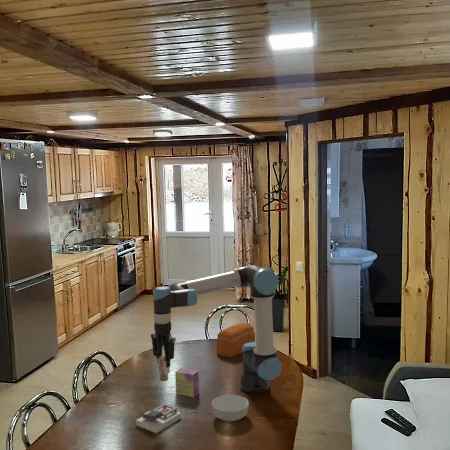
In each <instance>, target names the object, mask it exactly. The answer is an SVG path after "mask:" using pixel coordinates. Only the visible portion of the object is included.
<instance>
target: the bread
mask: <svg viewBox="0 0 450 450" xmlns="http://www.w3.org/2000/svg"><path fill="white" fill-rule="evenodd" d="M250 342H256V333H255V327H254V326H253V325H251V324H250V323H249V324H248V323H246V322H240V323H237V324H234V325H231V326H228V327H226V328H224V329H222V330H221V331H219V332H218V333H217V338H216V347H215V348H216V354H217V355H219V356H222V357H226V358H234V357H236V356H238V355H240V354H243V353H242V350H243V345H244V344H246V343H250Z"/></svg>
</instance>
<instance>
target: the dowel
mask: <svg viewBox="0 0 450 450" xmlns="http://www.w3.org/2000/svg"><path fill="white" fill-rule="evenodd" d="M164 360H165V353H164V354H163V353H162V355H160V356H159V364H160V373H159V381H161V382H166V381H168V380H169V373H168V374H166V375H164Z"/></svg>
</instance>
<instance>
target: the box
mask: <svg viewBox="0 0 450 450" xmlns="http://www.w3.org/2000/svg"><path fill="white" fill-rule="evenodd" d="M174 373H175V395H180V396H184V397H190V398H195V397H196V396H197V395H199V394H198V393H199V391H200V386H199V385H200V383H199V381H200V380H199V376H200V375H199V371H198V370H193V369H188V368H182V367H180V368H179V369H178V370H176V371H175V372H174Z"/></svg>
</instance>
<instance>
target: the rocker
mask: <svg viewBox="0 0 450 450" xmlns="http://www.w3.org/2000/svg"><path fill="white" fill-rule="evenodd" d="M161 416H163V415H162V412H157V411H152V410H148V411H147V412H144V413H143V414H142V415H141V417H143V418H144V419H153V420H156V419H158V418H159V417H161Z"/></svg>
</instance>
